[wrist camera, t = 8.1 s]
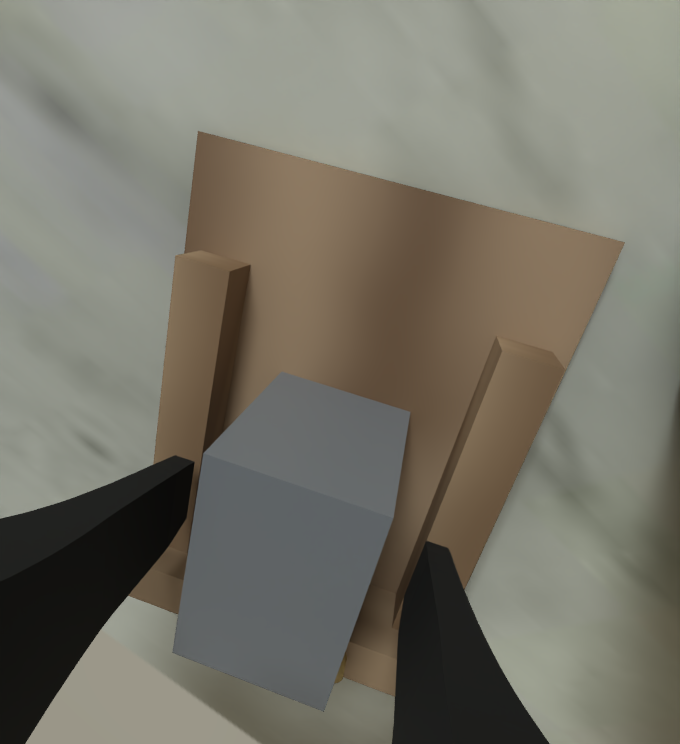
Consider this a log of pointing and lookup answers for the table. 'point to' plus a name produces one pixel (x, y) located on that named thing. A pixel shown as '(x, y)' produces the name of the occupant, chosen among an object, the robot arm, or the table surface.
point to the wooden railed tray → (372, 344)
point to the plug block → (289, 535)
